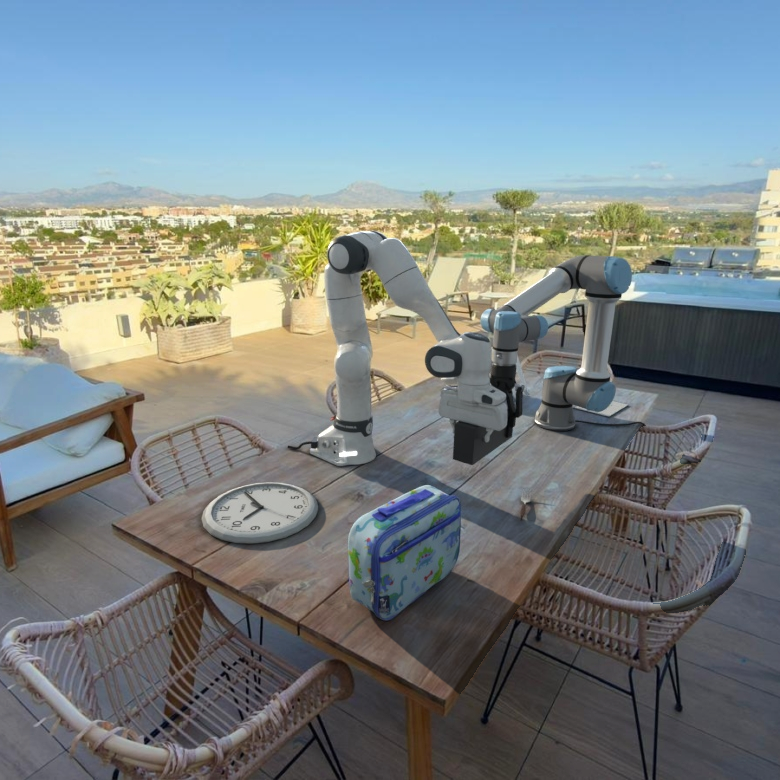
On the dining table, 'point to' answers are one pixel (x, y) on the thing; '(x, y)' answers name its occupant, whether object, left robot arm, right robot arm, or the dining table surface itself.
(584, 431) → the dining table surface
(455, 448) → the box
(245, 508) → the wall clock
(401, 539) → the lunch box
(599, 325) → the right robot arm
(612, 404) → the invitation card
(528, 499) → the fork
